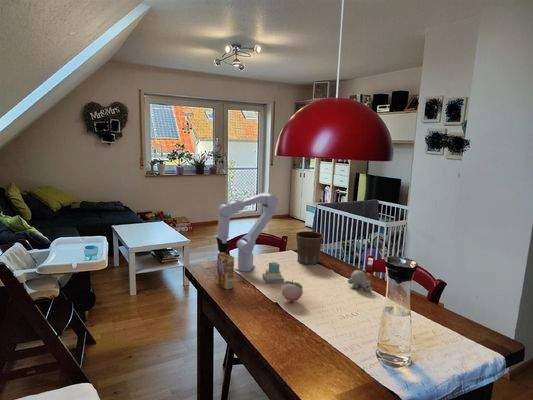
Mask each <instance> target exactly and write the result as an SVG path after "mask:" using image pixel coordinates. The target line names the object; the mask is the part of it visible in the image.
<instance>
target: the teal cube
mask: <svg viewBox="0 0 533 400" xmlns="http://www.w3.org/2000/svg"><path fill="white" fill-rule="evenodd" d="M268 269H269V271H270V272H271V273H277V272H279V269H280V264H279V263H278V262H277V261H273V262H269V263H268Z"/></svg>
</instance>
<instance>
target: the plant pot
mask: <svg viewBox="0 0 533 400" xmlns="http://www.w3.org/2000/svg"><path fill="white" fill-rule="evenodd" d="M295 237H296V238H295V239H296V245H297V246H296V247H297V261H298V263H300V264H304V265H306V264H307V265H308V266H309V265H311V266H314V265H316V264H318V263H319V261H320V255H321V248H322V243H323V240H324V239H323V238H324V237H325V235H324V234H323V233H320V232H316V231H310V230H309V231H307V230H306V231H303V230H302V231H297V232H296V233H295Z"/></svg>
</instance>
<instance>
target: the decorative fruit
mask: <svg viewBox="0 0 533 400" xmlns="http://www.w3.org/2000/svg"><path fill="white" fill-rule="evenodd" d="M281 287H282V288H281V294H282V296H283V298H284V299H285V300H287V301H288V302H289V301H290V302H291V303H292V302H296V301H298V300H299V299H300V298H301V297H302V295H303V291H304V290H303V289H304V287H303V285H302V284H301V283H300V282H296V281H295V282H294V280H293V279H292V281H291V280H284V282H283V283H282V286H281Z"/></svg>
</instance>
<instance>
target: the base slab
mask: <svg viewBox="0 0 533 400" xmlns="http://www.w3.org/2000/svg"><path fill="white" fill-rule="evenodd" d="M261 276H262V278H263V280H264V282H265V284H266V285H267V284H281V283H282V284H284V283H283V282H284V281H285V278H284V276H283V275H282V274H281V279H267V277H266V272H262V275H261Z"/></svg>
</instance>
